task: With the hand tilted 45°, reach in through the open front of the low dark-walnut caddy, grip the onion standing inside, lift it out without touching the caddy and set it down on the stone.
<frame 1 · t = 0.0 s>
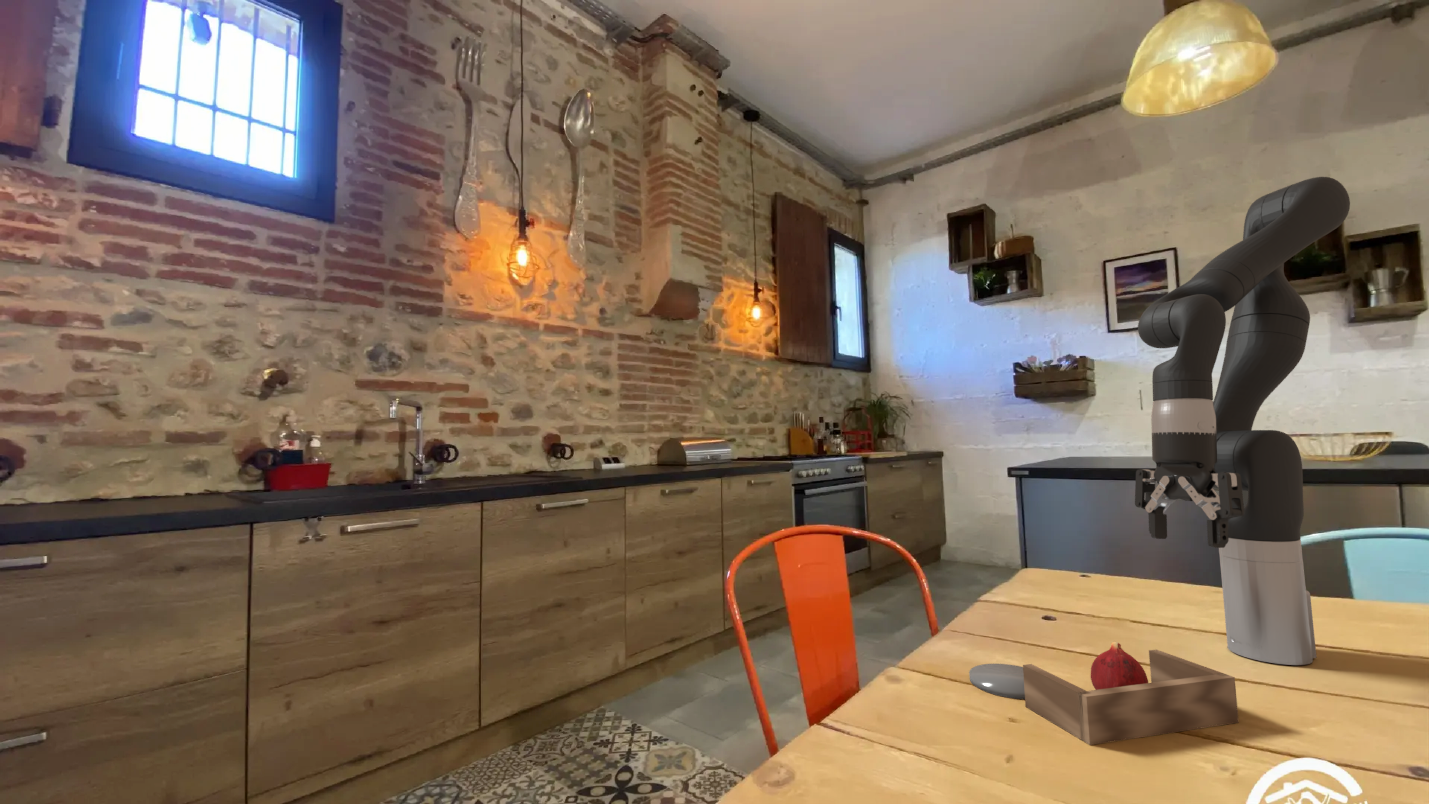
hand: (1186, 542, 86), 17 cm above the table, tool pointing down, fingers open, 8 cm apart
onion: (1121, 712, 71), on the table
caddy: (1125, 712, 70), on the table
stone: (1009, 683, 80), on the table
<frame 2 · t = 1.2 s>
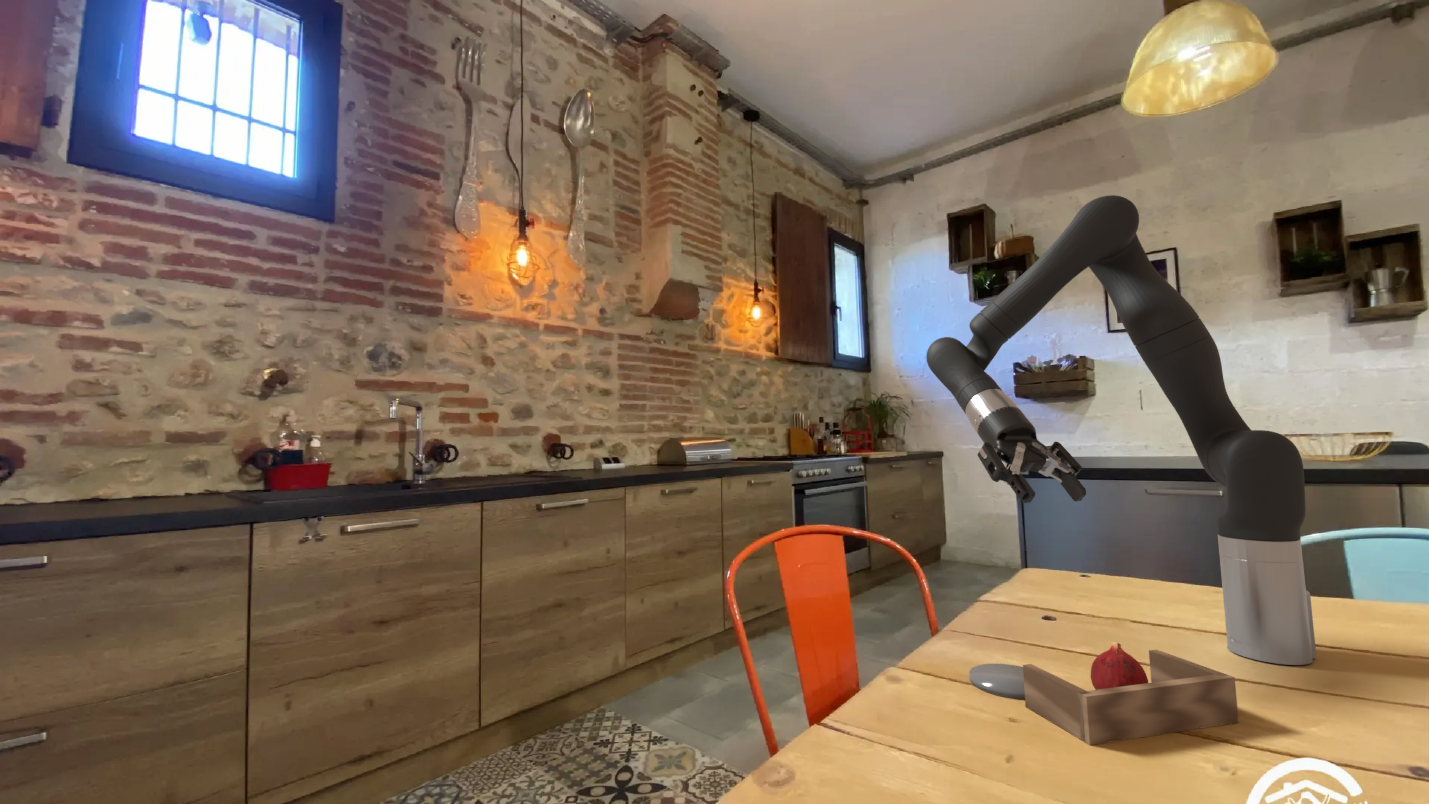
hand: (1056, 498, 85), 24 cm above the table, tool tilted 45°, fingers open, 8 cm apart
nothing on the table moved.
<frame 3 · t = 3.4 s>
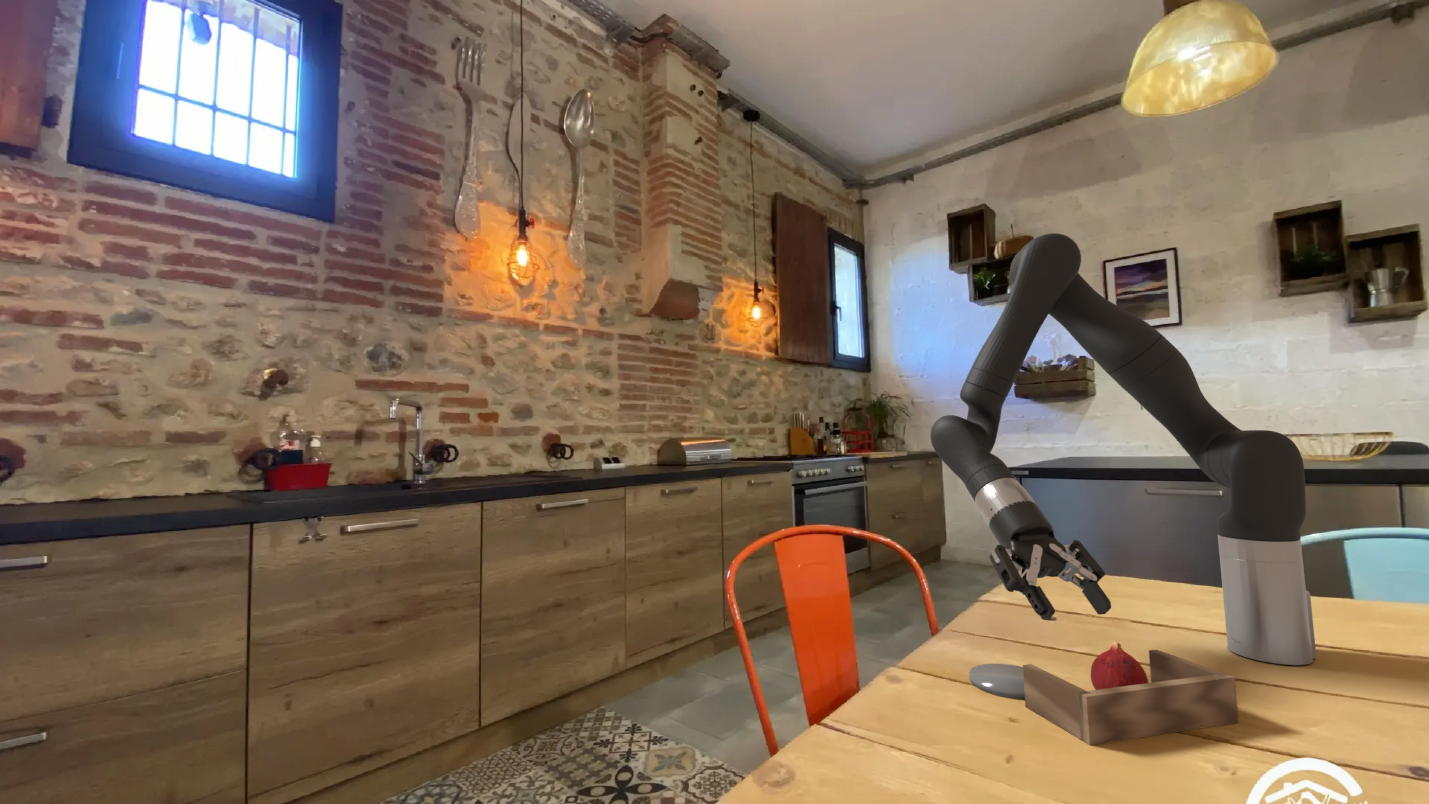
hand: (1078, 613, 77), 10 cm above the table, tool tilted 45°, fingers open, 8 cm apart
nothing on the table moved.
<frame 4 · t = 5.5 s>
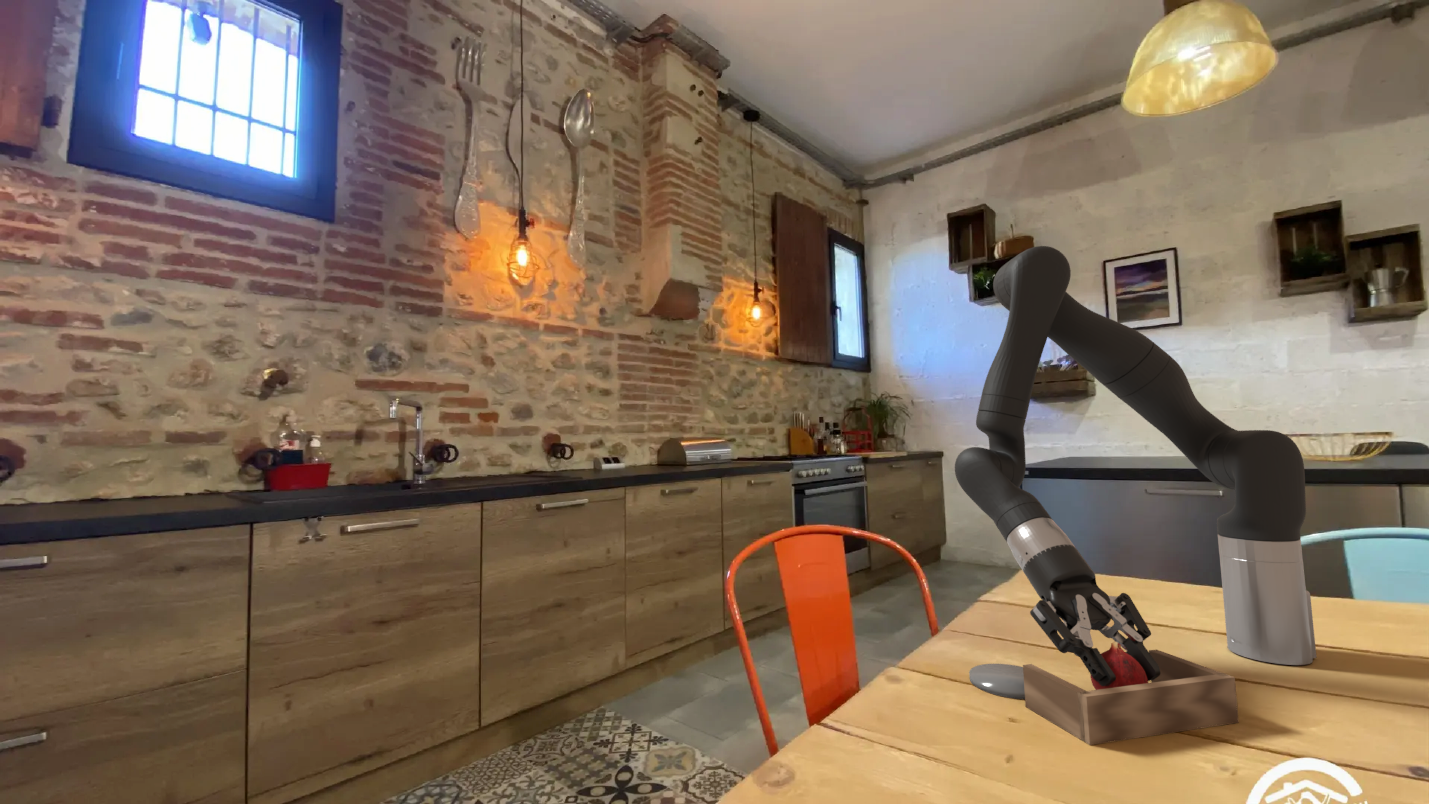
hand: (1131, 679, 69), 4 cm above the table, tool tilted 45°, fingers closed on onion, 5 cm apart
onion: (1121, 712, 71), on the table, touching gripper
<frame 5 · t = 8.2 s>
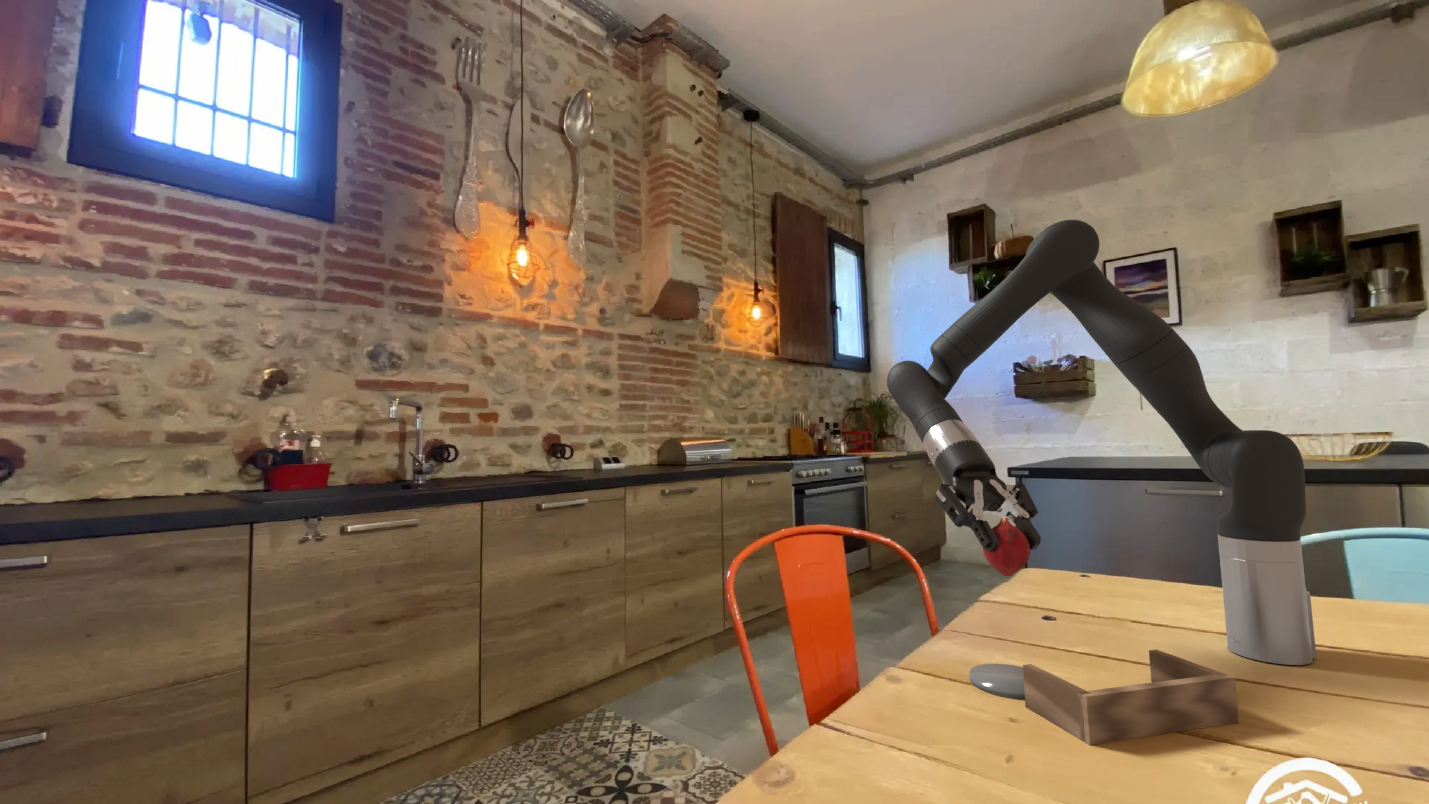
hand: (1015, 546, 79), 19 cm above the table, tool tilted 45°, fingers closed on onion, 5 cm apart
onion: (1007, 578, 80), point 14 cm above the table, touching gripper
when the fingers open (6 cm above the table, at t = 11.0 s): onion drops 1 cm, resting on stone.
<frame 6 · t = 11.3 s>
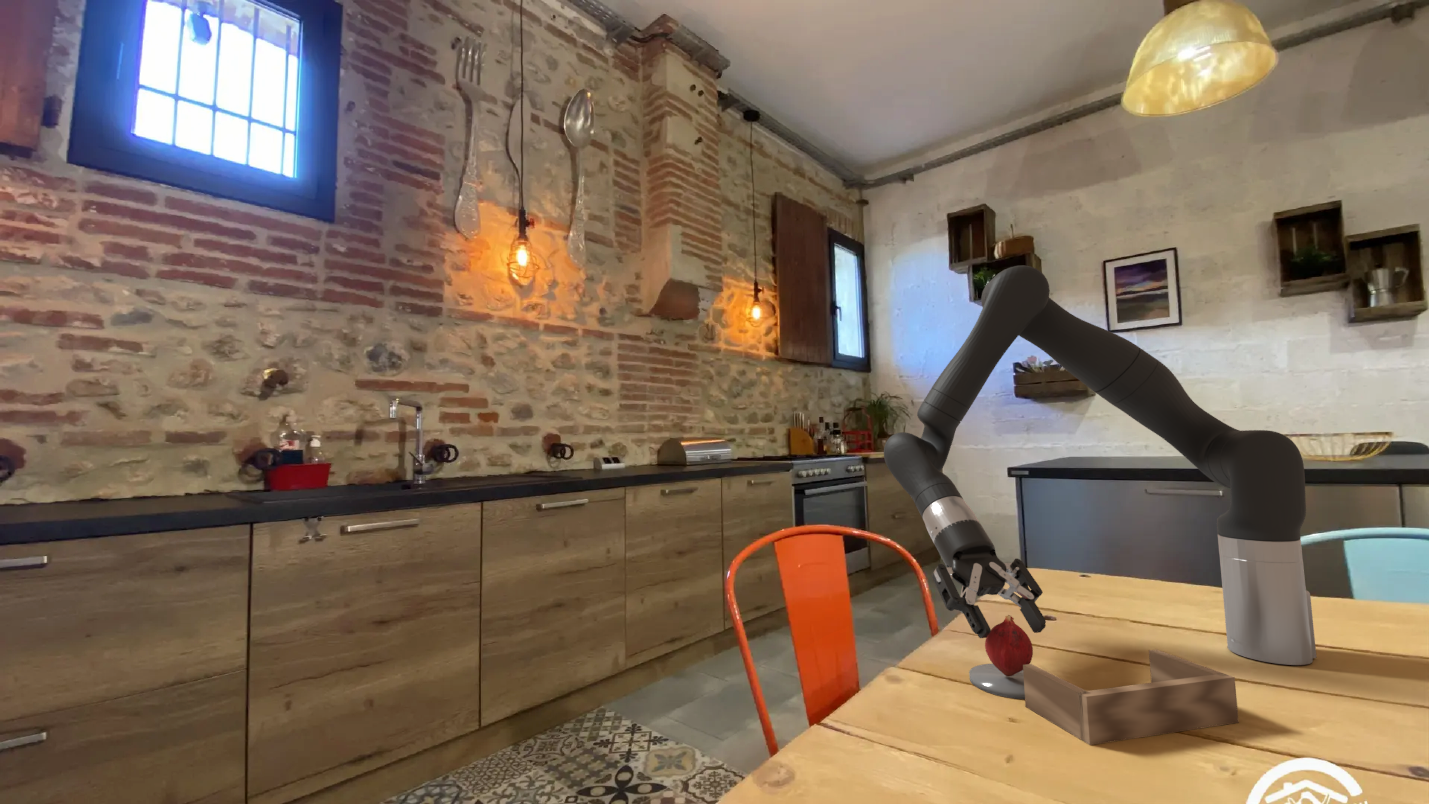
hand: (1013, 632, 79), 7 cm above the table, tool tilted 45°, fingers open, 8 cm apart
onion: (1008, 677, 80), point 1 cm above the table, touching stone
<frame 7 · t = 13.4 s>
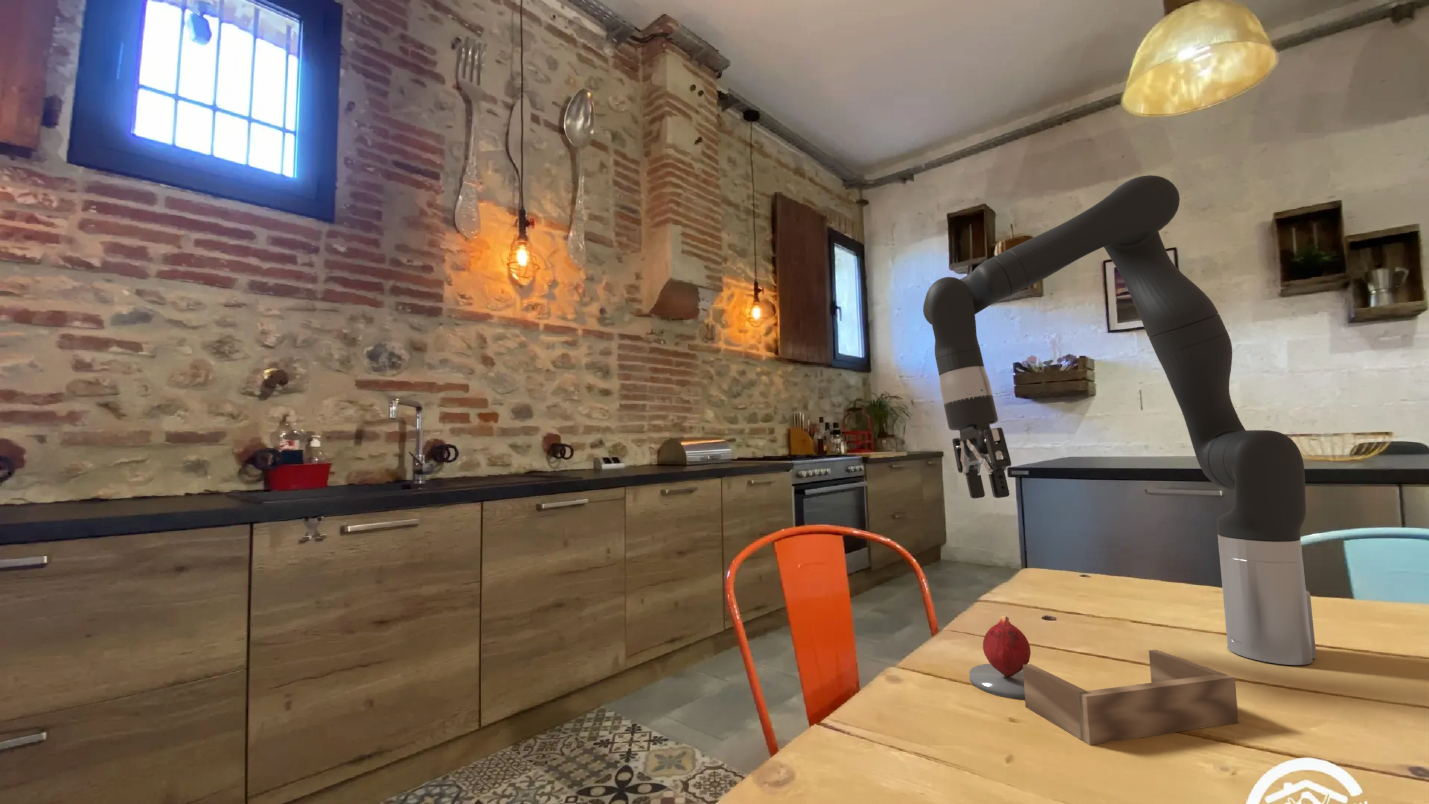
hand: (989, 497, 94), 24 cm above the table, tool pointing down, fingers open, 8 cm apart
nothing on the table moved.
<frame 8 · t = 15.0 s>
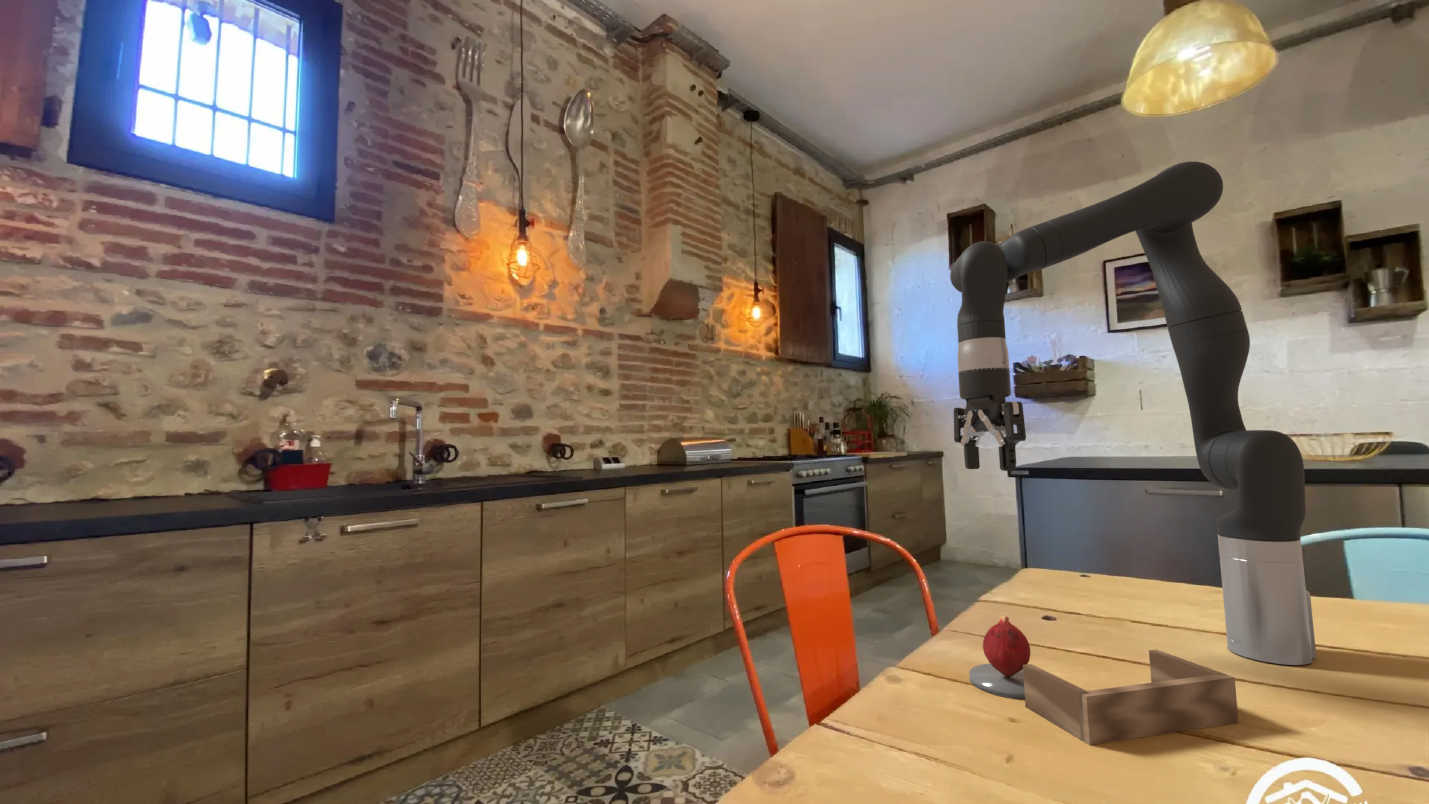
hand: (989, 469, 94), 28 cm above the table, tool pointing down, fingers open, 8 cm apart
nothing on the table moved.
at the end: onion 0.2 cm from the stone (horizontally); onion point 0.6 cm above the table; the gripper is holding nothing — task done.
